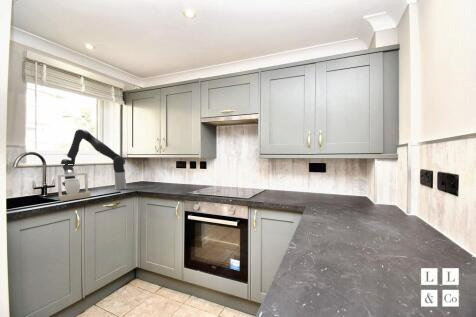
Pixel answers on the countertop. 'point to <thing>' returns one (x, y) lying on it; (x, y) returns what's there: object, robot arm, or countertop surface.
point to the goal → (73, 196)
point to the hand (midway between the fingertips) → (71, 190)
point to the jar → (72, 185)
